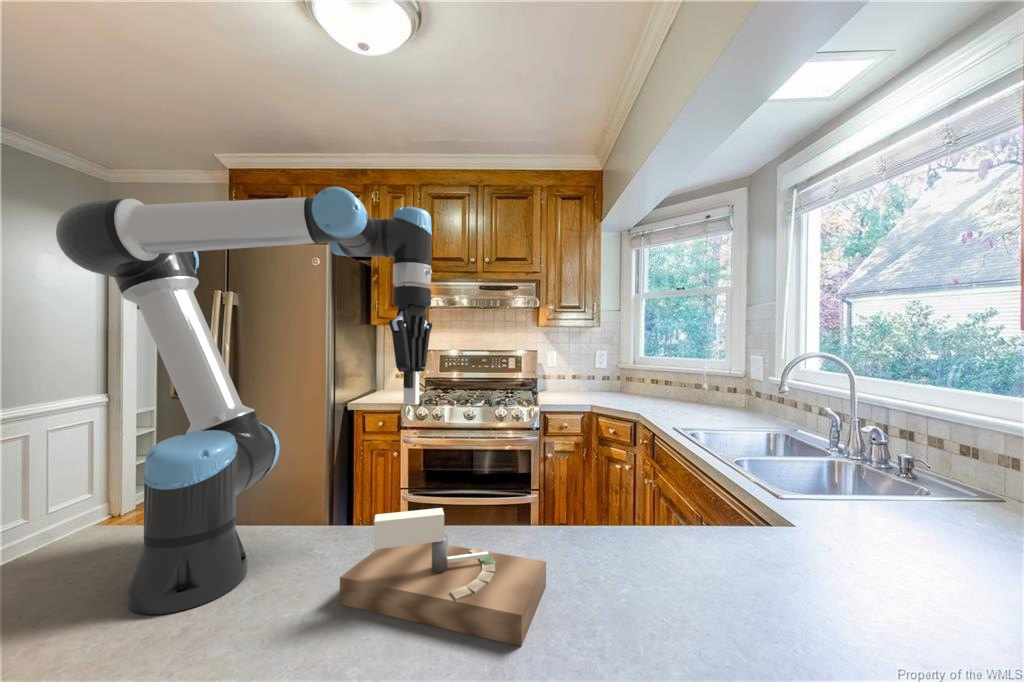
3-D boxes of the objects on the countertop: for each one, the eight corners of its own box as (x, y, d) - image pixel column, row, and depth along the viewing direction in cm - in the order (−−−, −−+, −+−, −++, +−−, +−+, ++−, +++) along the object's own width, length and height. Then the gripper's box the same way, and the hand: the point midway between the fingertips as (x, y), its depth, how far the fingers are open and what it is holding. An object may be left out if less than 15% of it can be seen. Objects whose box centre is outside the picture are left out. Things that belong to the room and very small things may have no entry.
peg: (374, 581, 61) (374, 521, 61) (374, 572, 63) (375, 514, 63) (489, 564, 65) (490, 509, 65) (486, 556, 68) (486, 503, 68)
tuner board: (339, 604, 62) (339, 575, 62) (394, 557, 76) (395, 533, 76) (521, 646, 54) (521, 612, 54) (546, 584, 68) (546, 558, 68)
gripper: (411, 281, 78) (410, 409, 78) (443, 290, 90) (442, 400, 90) (376, 283, 80) (375, 407, 80) (412, 291, 92) (411, 399, 92)
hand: (411, 403), depth 85 cm, fingers closed
